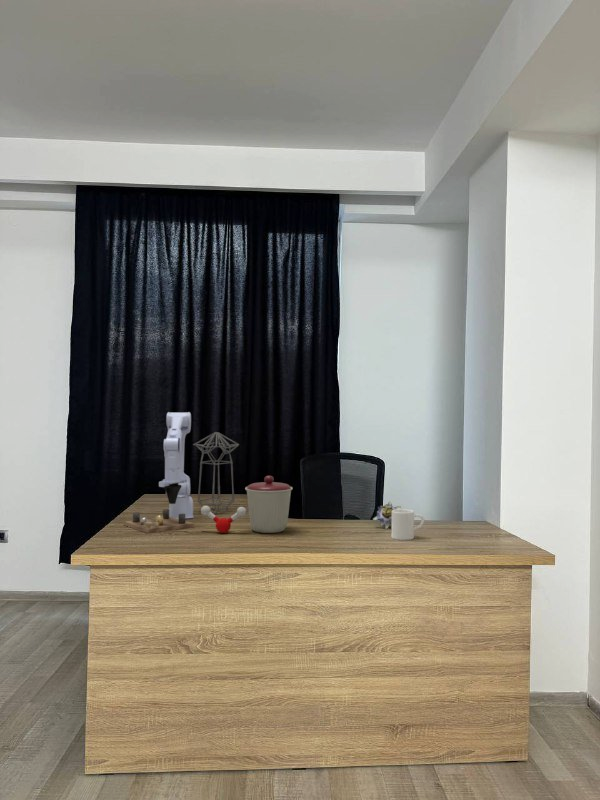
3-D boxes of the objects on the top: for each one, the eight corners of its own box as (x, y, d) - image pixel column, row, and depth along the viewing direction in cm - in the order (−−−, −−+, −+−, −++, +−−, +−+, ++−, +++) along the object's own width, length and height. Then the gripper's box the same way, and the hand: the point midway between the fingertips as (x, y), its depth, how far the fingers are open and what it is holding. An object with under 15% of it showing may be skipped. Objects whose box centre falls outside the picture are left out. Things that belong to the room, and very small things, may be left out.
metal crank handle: (139, 524, 282) (139, 515, 282) (142, 523, 284) (142, 514, 284) (161, 525, 280) (161, 516, 280) (164, 524, 282) (164, 515, 282)
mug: (425, 540, 263) (425, 513, 262) (391, 539, 264) (391, 512, 264) (424, 536, 271) (424, 509, 270) (391, 535, 272) (391, 508, 272)
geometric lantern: (214, 507, 333) (215, 430, 332) (241, 511, 324) (241, 432, 323) (190, 512, 320) (190, 432, 320) (217, 516, 311) (217, 433, 310)
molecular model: (247, 532, 276) (247, 506, 275) (243, 535, 270) (243, 508, 270) (202, 530, 279) (203, 504, 279) (198, 533, 274) (198, 506, 273)
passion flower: (386, 542, 285) (369, 518, 284) (388, 532, 296) (371, 508, 295) (411, 528, 282) (393, 503, 281) (411, 518, 293) (394, 493, 292)
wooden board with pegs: (169, 520, 301) (169, 507, 301) (194, 527, 285) (194, 514, 285) (124, 525, 288) (124, 512, 288) (147, 533, 273) (147, 519, 273)
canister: (302, 531, 279) (302, 475, 279) (268, 537, 266) (268, 479, 266) (268, 524, 292) (269, 471, 292) (234, 531, 279) (235, 475, 278)
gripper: (175, 466, 292) (175, 500, 292) (152, 469, 279) (152, 505, 279) (189, 467, 289) (189, 501, 289) (167, 470, 276) (167, 506, 276)
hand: (172, 503), depth 284 cm, fingers closed
